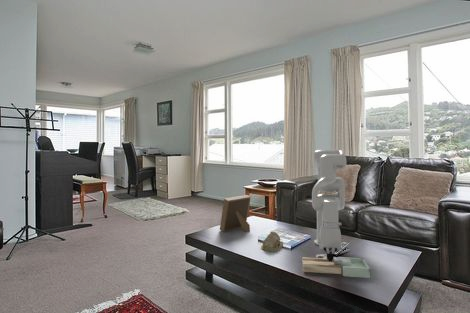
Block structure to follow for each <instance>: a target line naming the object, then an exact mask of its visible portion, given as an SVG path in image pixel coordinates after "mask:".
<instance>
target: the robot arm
mask: <svg viewBox="0 0 470 313" xmlns="http://www.w3.org/2000/svg"><path fill="white" fill-rule="evenodd" d="M313 159H314V163H315V165H316V168H317V182H316V183H315V184H314V185H313V187H312V189H311V205H312V209H313V210H315V211H316V239H314V240H313V243H314V244H315V245H317V246H318V248H319V250H323V251H324V252H326V254H327V259H328V261H329V262H330V261H331V262H332V260H333V257H334V256H333V254H334V253H335V252H336V251H338V250H342V235H341V234H342V233H341V229H340V226H342V222H339V210H344V208H345V206H346V195H345V194H346V183H345V180H344V178H343V177H341V176H337V174H336V170H344V169H346V167H347V157H346V155H345V152H344V151H343V150H341V149H317V150H315V151H314V152H313ZM319 191H320V192H323V193H320V194H318V192H319ZM334 193H335V194H334Z"/></svg>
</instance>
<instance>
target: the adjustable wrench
mask: <svg viewBox="0 0 470 313" xmlns="http://www.w3.org/2000/svg"><path fill="white" fill-rule="evenodd" d="M349 252H350V249H349V248H346V250H344V251H342V252H341V253H340V254H339V255H343V254H345V253H349ZM315 258H324V259H327V253H322V254H321V253H320V254H316V255H315Z"/></svg>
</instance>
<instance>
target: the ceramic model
mask: <svg viewBox="0 0 470 313" xmlns="http://www.w3.org/2000/svg"><path fill="white" fill-rule="evenodd" d="M283 245H284V242H283V241H281V238H280V235H279V234H278V232H276V231H270V233H269V234H268V235H267V236H266V237H265V239H263V240H262V245H260V250H264V251H267V252H278V251H279V250H281V249H282V248H283V247H284V246H283Z"/></svg>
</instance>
